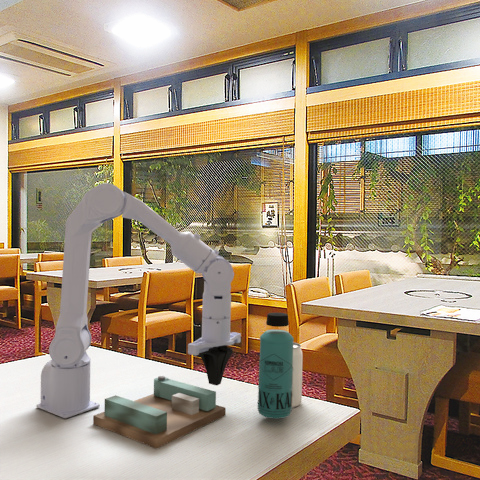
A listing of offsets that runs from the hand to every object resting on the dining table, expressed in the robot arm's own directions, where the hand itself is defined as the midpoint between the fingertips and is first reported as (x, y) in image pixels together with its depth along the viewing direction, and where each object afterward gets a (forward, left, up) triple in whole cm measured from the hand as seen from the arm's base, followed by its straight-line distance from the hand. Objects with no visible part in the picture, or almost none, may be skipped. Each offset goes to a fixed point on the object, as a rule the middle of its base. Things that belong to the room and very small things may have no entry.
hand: (214, 383), depth 100 cm
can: (+11, +10, -4) cm, 15 cm away
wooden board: (-2, -12, -4) cm, 13 cm away
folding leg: (-3, -7, -2) cm, 7 cm away
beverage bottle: (+14, +1, -4) cm, 15 cm away
